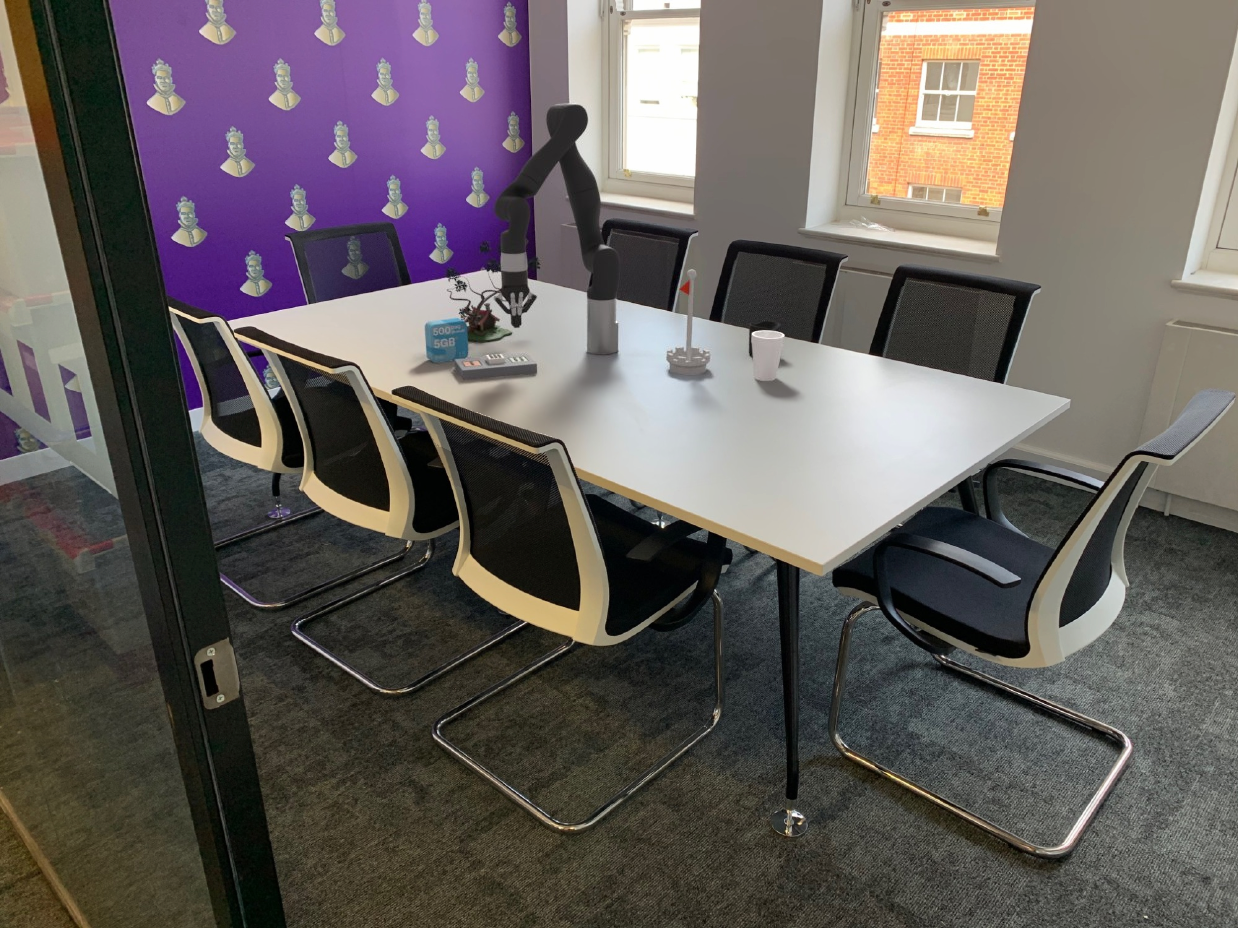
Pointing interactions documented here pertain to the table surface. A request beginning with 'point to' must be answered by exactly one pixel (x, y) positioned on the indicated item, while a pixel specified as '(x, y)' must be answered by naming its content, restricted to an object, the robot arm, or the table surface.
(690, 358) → the flag stand
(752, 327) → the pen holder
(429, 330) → the data package
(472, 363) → the button one
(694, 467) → the table surface
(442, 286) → the table surface
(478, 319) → the bonsai tree
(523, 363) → the button panel
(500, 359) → the button three
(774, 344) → the foam cup
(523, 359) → the button two
